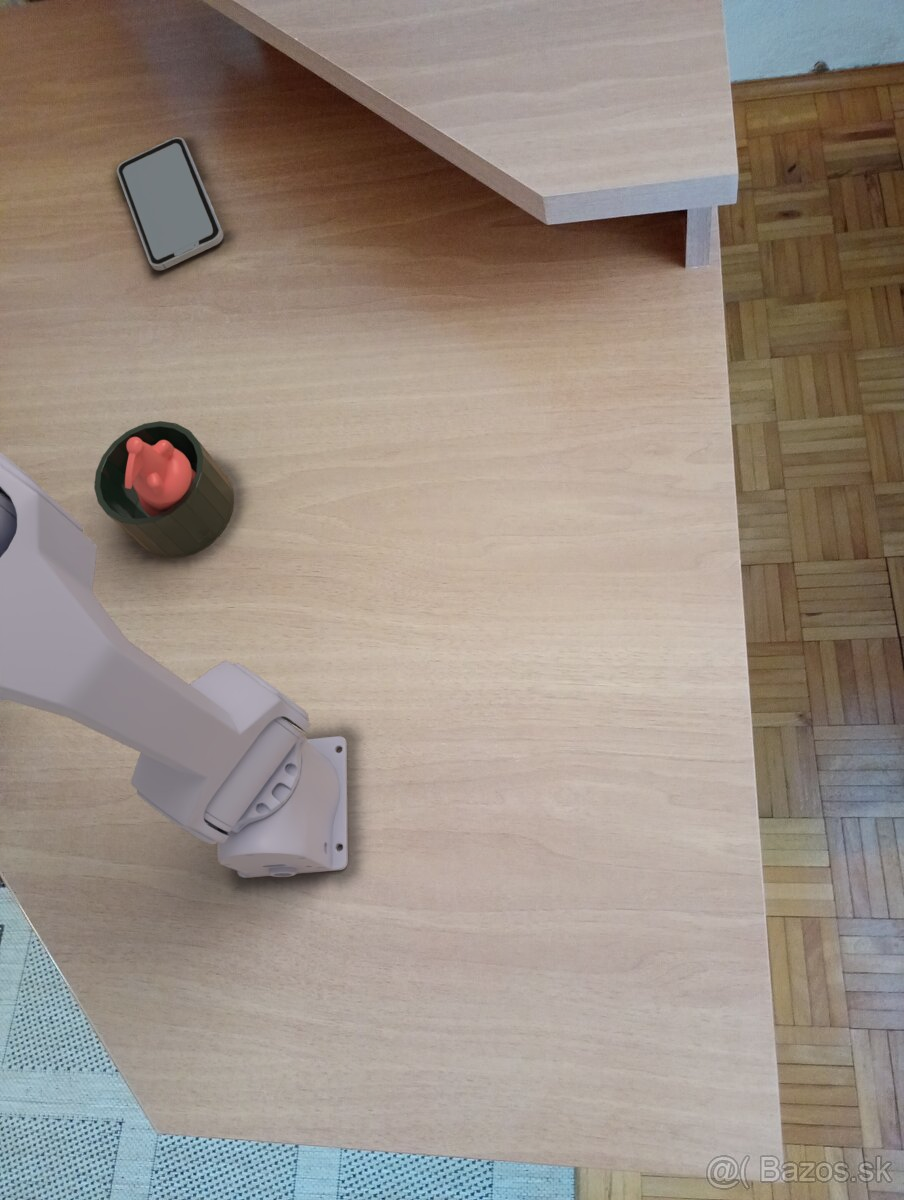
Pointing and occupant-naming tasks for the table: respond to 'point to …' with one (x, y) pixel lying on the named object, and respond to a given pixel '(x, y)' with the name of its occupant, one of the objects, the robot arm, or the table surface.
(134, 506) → the cup
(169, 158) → the smartphone
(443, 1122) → the table surface
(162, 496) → the figurine
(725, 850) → the table surface
